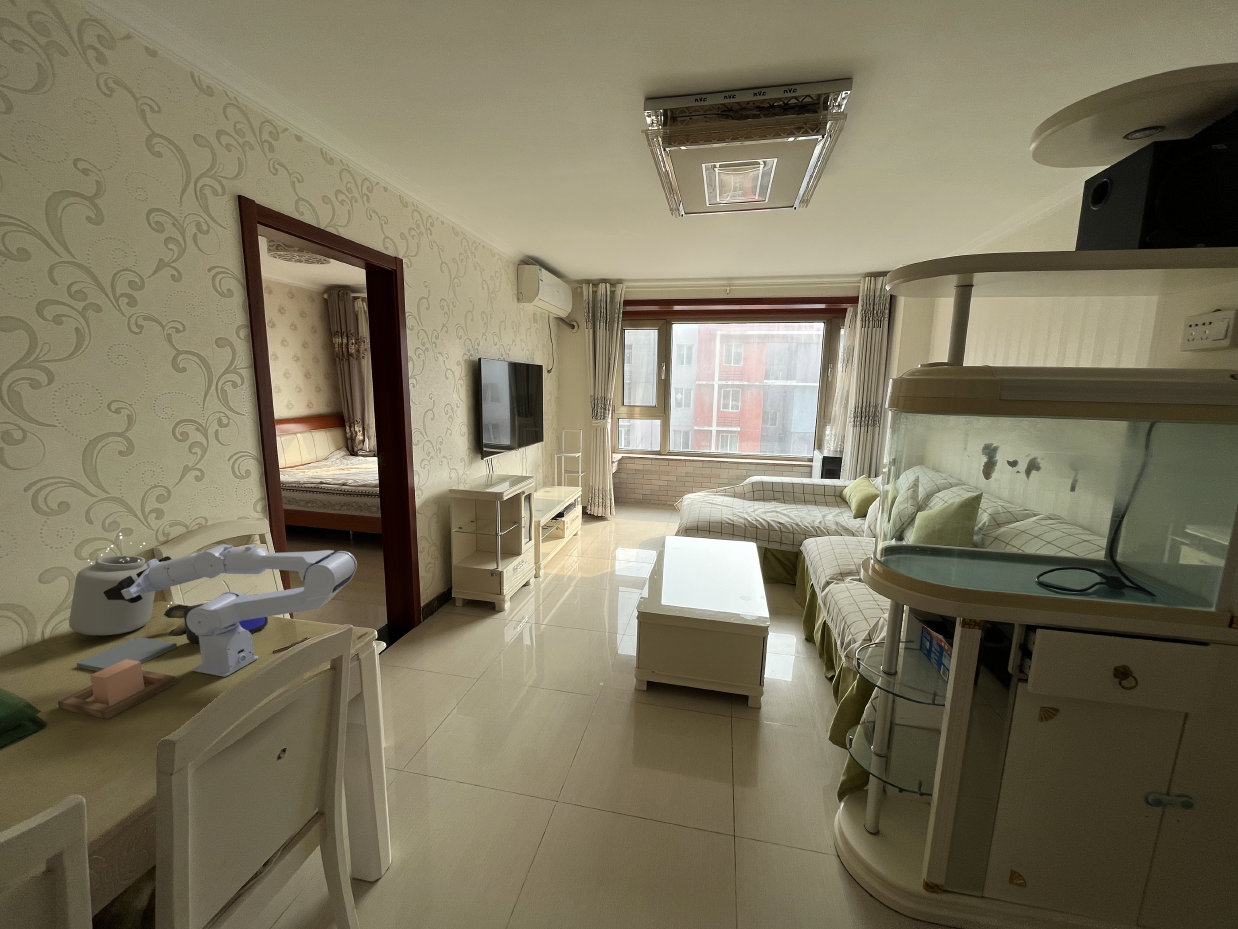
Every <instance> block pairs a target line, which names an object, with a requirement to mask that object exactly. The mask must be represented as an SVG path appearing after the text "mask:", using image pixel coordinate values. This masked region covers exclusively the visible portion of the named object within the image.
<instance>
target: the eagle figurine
mask: <svg viewBox="0 0 1238 929" xmlns="http://www.w3.org/2000/svg"><path fill="white" fill-rule="evenodd" d="M189 606H190V605H184V604H183V605H182V604H177V605H173V606H171V607H170V606H169V607H168V608H167V609H166V610H165V612H164V613H163V616H164V617H166V618H167V619H184V610H185V609H186V608H187V607H189ZM184 632H186V628H185V621H184V622H182V623H180V624H179V625H177V626H176V627H175V628H174V629H171V630H170V631H169V632H168V633H167V636H173V637H174V636H178V635H180V634H182V633H184Z"/></svg>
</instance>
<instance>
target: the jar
mask: <svg viewBox="0 0 1238 929" xmlns="http://www.w3.org/2000/svg"><path fill="white" fill-rule="evenodd" d="M118 535H120V536H119V539H123V536H121V535H122V533H119V534H118ZM129 544H133V543H132V542H130V543H129ZM143 545H146V543H145V542H143ZM110 546H111V548H113V547H114V545H110ZM139 548H142V545H141V546H139ZM109 550H110V547H108V548H107V550H106V552H107V553H108V551H109ZM106 552H105V553H106ZM100 556H103V554H100ZM87 561H88V562H90V559H88V560H87ZM146 563H147V562H146V558H144V557H141V556H135V555H110V556H104V557H99V558H97V559H95V562H94V563H93V562H90V565H88V566H86V567H84V568H82V569H80V570H79V571H78V572H77V574H76V576H75V581H74V590H73V596H72V600H71V607H70V614H69V619H68V626H69V627H70V629H71V630H72V631H73V632H76V633H79V634H81V635H85V636H111V635H112V636H113V635H120V634H124V633H128V632H132V631H135V630H138V629H139V628H142V627H143V626H145V625H146V624H147V623H149V621H150V620H151V617H152V614H153V607H154V599H155V594H156V591H154V592H149V593H144V594H140V595H141V596H142V598H143V599H142V600H140V601H138V602H136V603H130V602H127V601H124V600H108V599H107V598H106V596H105V595H104V593H103V592H104V591H106V590H107V589H109V588H111V587H114V586H116V585H117V584H118V583H119V582H120V581H121V580H123V579H124V578H126V577H128V576H132V578H133V580H134V581H135V582H136V581H137V579H138V577H137V575H136V574H137V573H139V572H141V571H143V570H145V569H147V568H148V566H147V564H146ZM170 604H173V602H171V601H170ZM167 607H168V608H170V605H167Z"/></svg>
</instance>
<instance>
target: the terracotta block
mask: <svg viewBox="0 0 1238 929" xmlns="http://www.w3.org/2000/svg"><path fill="white" fill-rule="evenodd" d="M142 670H143V669H142V664H141V662H139V661H134V660H128V659H125V660H123V661H121V662H119V663H116V664H114V665H112V666H110V667H107V668H105V669H103V670H101V671H95V673H94V672H93V673H92V674H90V675H89V676H90V680H91V681H90V682H91V685H92V689H93V700H94V701H93V702H95V703H100V704H104V705H109V706H111V705H113V704H115V703H117V702H119V701H121V700H123V699H125V698H127V697H129V696H131V695H133V694H135V693H137V692H139V691H141V690H143V689H145V682H144V681H143V674H142Z"/></svg>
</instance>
